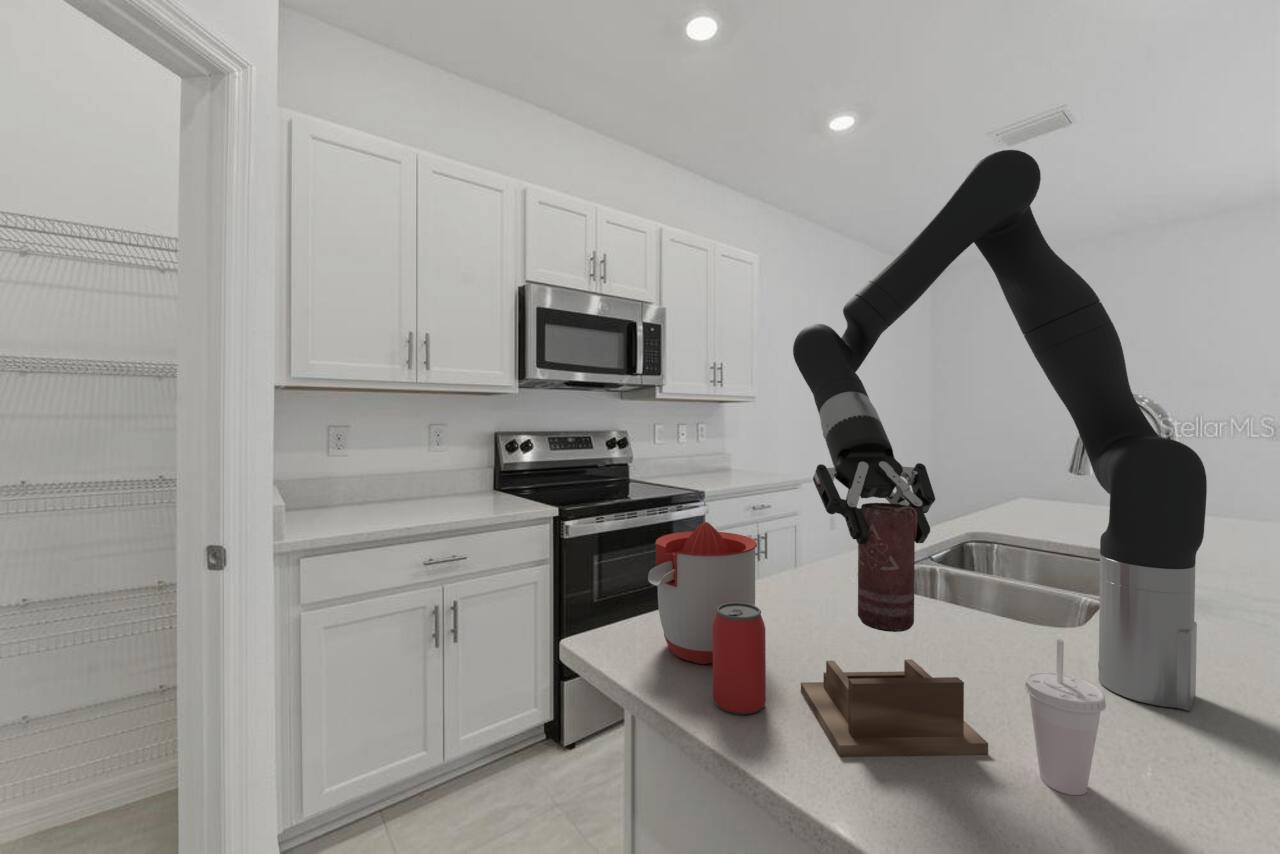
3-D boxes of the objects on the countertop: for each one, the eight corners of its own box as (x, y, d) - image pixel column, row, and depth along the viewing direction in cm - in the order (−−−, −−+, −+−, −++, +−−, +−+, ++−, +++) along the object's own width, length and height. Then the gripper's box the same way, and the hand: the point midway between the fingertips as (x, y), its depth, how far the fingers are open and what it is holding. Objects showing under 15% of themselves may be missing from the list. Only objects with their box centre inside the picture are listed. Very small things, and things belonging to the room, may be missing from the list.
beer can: (702, 703, 71) (701, 609, 71) (733, 685, 76) (732, 597, 76) (745, 723, 67) (745, 623, 66) (775, 703, 71) (775, 609, 71)
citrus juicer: (629, 643, 90) (627, 519, 90) (718, 623, 98) (717, 509, 98) (679, 685, 76) (678, 538, 76) (779, 658, 84) (778, 525, 84)
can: (923, 635, 63) (924, 511, 63) (863, 630, 64) (863, 509, 64) (908, 615, 69) (909, 502, 69) (854, 612, 70) (854, 500, 70)
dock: (800, 691, 74) (800, 637, 74) (921, 689, 74) (921, 635, 74) (839, 756, 60) (839, 690, 60) (988, 754, 60) (988, 687, 60)
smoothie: (1068, 761, 59) (1070, 629, 59) (1123, 804, 53) (1125, 656, 52) (1009, 763, 59) (1010, 630, 58) (1056, 806, 52) (1058, 657, 52)
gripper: (806, 414, 73) (839, 522, 62) (916, 412, 74) (969, 520, 62) (795, 451, 79) (823, 557, 67) (897, 450, 79) (942, 556, 68)
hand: (893, 539), depth 65 cm, fingers closed on can, 6 cm apart
